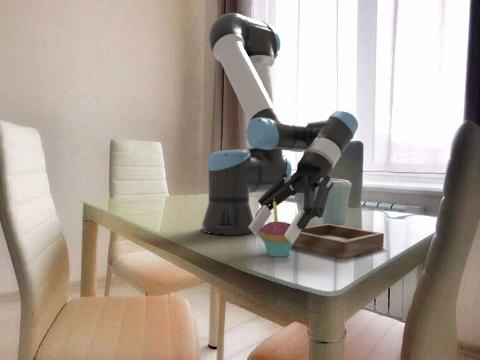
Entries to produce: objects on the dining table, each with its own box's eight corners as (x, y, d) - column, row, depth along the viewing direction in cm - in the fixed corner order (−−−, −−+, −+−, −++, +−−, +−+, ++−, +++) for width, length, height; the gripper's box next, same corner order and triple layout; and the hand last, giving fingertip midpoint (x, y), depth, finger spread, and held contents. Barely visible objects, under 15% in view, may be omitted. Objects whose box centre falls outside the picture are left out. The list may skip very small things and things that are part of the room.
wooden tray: (287, 244, 86) (287, 230, 86) (327, 236, 96) (327, 223, 96) (343, 259, 74) (344, 242, 74) (383, 248, 84) (383, 233, 84)
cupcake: (251, 252, 78) (252, 198, 78) (280, 247, 83) (281, 196, 83) (277, 261, 71) (278, 202, 71) (307, 255, 76) (308, 200, 76)
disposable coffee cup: (356, 226, 113) (358, 178, 112) (339, 230, 105) (340, 179, 105) (327, 221, 120) (328, 177, 120) (309, 225, 113) (310, 178, 112)
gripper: (367, 174, 77) (320, 257, 68) (290, 171, 95) (244, 236, 86) (354, 149, 74) (302, 233, 65) (276, 150, 91) (227, 216, 82)
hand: (269, 235), depth 75 cm, fingers open, 10 cm apart
